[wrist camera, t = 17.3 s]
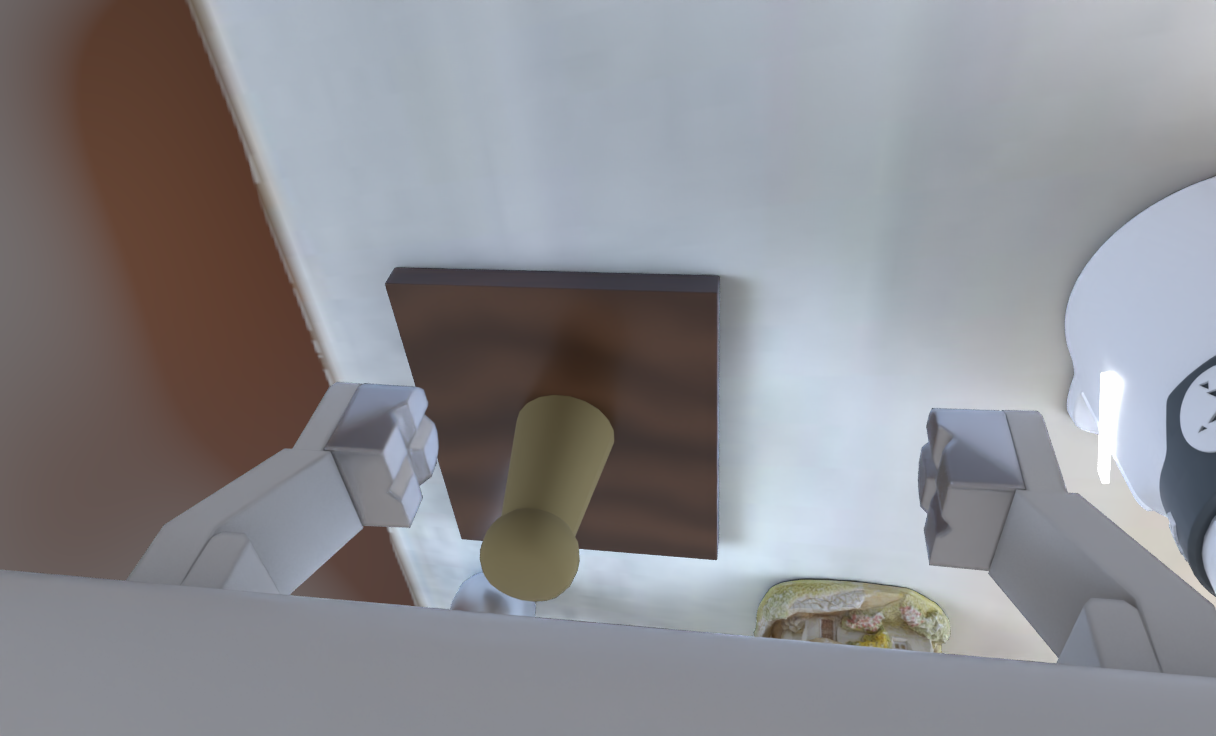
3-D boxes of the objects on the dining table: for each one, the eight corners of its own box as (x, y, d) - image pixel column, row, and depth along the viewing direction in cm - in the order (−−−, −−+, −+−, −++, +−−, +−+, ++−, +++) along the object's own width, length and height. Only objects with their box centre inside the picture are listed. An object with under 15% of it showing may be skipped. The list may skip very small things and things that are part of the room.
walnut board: (718, 541, 59) (717, 560, 58) (467, 521, 62) (461, 539, 61) (719, 275, 45) (717, 293, 43) (394, 266, 48) (384, 283, 47)
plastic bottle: (531, 560, 64) (450, 847, 49) (550, 613, 68) (482, 892, 53) (450, 559, 65) (349, 836, 50) (474, 610, 70) (387, 880, 55)
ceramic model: (979, 601, 58) (1006, 744, 51) (921, 682, 66) (938, 818, 58) (774, 560, 59) (771, 695, 52) (740, 645, 67) (733, 774, 59)
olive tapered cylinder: (514, 455, 54) (463, 604, 46) (518, 385, 50) (464, 535, 42) (608, 474, 54) (574, 628, 46) (620, 406, 50) (586, 561, 42)
